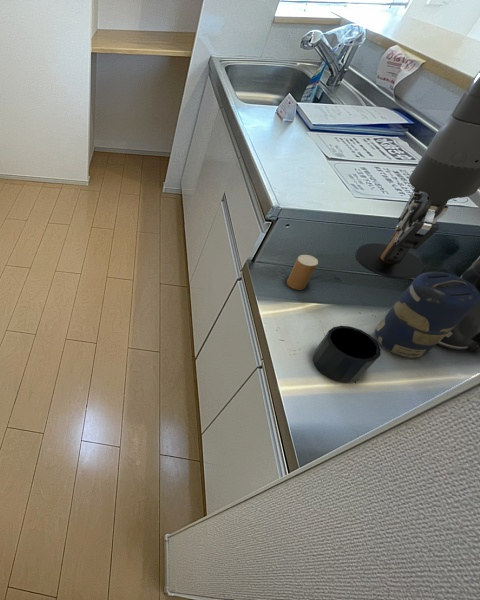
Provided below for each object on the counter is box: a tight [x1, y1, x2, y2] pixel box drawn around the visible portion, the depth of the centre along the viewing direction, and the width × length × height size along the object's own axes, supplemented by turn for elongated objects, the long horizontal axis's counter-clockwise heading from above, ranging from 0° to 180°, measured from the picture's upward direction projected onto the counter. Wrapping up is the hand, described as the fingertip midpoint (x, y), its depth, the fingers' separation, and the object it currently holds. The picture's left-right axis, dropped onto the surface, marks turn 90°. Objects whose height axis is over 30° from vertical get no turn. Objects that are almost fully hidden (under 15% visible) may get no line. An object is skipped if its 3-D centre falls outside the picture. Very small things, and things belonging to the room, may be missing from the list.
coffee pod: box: [286, 254, 319, 291], centre depth 88 cm, size 4×4×8 cm
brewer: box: [312, 325, 382, 384], centre depth 70 cm, size 9×9×8 cm
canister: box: [374, 271, 480, 358], centre depth 69 cm, size 10×10×18 cm
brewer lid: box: [354, 231, 424, 280], centre depth 57 cm, size 9×9×6 cm
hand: (391, 256), depth 58 cm, fingers closed on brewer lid, 2 cm apart
